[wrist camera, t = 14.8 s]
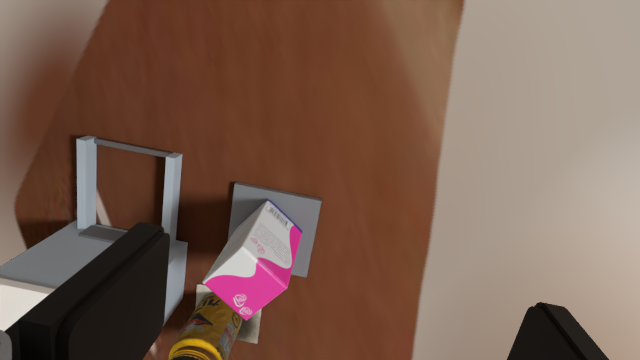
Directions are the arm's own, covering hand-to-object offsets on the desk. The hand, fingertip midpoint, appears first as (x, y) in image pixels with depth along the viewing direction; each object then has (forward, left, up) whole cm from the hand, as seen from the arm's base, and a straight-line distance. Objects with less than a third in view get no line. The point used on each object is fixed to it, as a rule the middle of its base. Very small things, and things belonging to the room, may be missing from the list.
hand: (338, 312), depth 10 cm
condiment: (+28, -10, -35) cm, 46 cm away
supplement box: (+15, -6, -34) cm, 37 cm away
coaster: (+15, -6, -34) cm, 38 cm away
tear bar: (+8, -23, -34) cm, 42 cm away
